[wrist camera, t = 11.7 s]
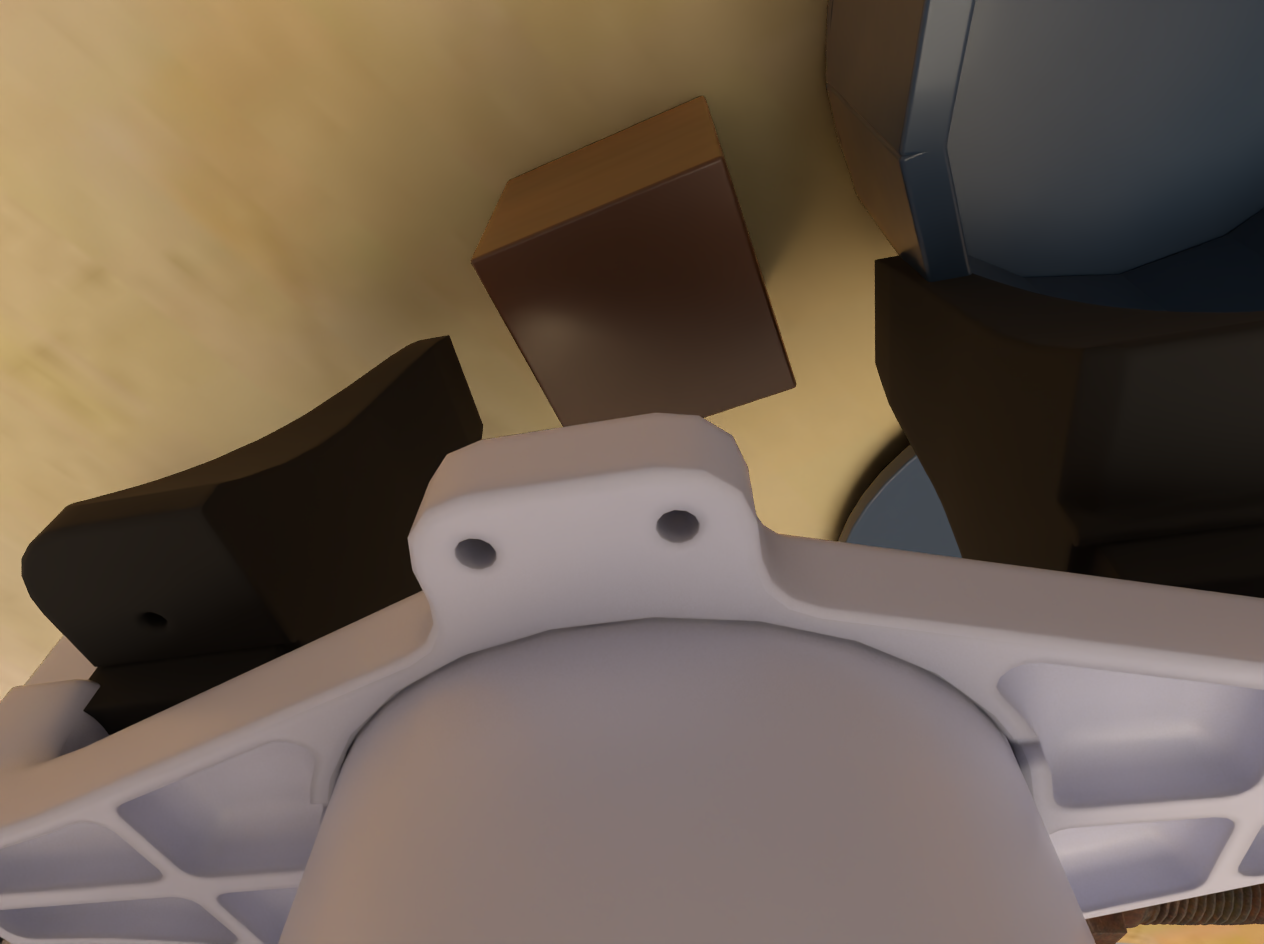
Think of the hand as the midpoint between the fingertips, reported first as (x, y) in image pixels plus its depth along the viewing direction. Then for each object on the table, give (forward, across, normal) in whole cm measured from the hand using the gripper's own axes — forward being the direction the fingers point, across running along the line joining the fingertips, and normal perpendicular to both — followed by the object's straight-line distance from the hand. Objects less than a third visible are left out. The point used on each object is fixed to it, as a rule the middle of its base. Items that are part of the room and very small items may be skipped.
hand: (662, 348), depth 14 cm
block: (+3, 0, -1) cm, 3 cm away
